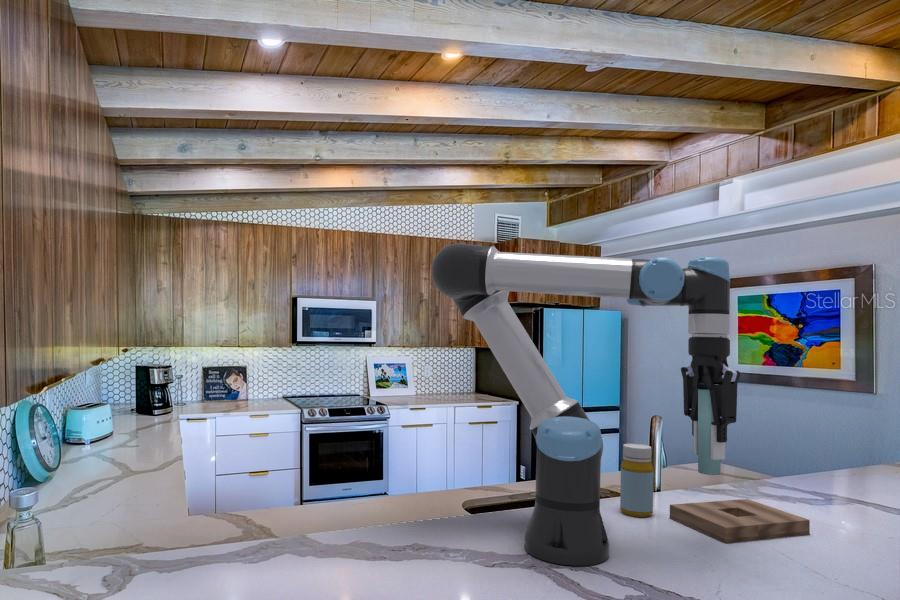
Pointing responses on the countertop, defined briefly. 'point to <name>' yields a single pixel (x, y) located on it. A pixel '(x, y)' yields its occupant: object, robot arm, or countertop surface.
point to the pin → (706, 435)
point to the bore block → (739, 520)
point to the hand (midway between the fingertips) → (709, 456)
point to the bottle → (636, 481)
